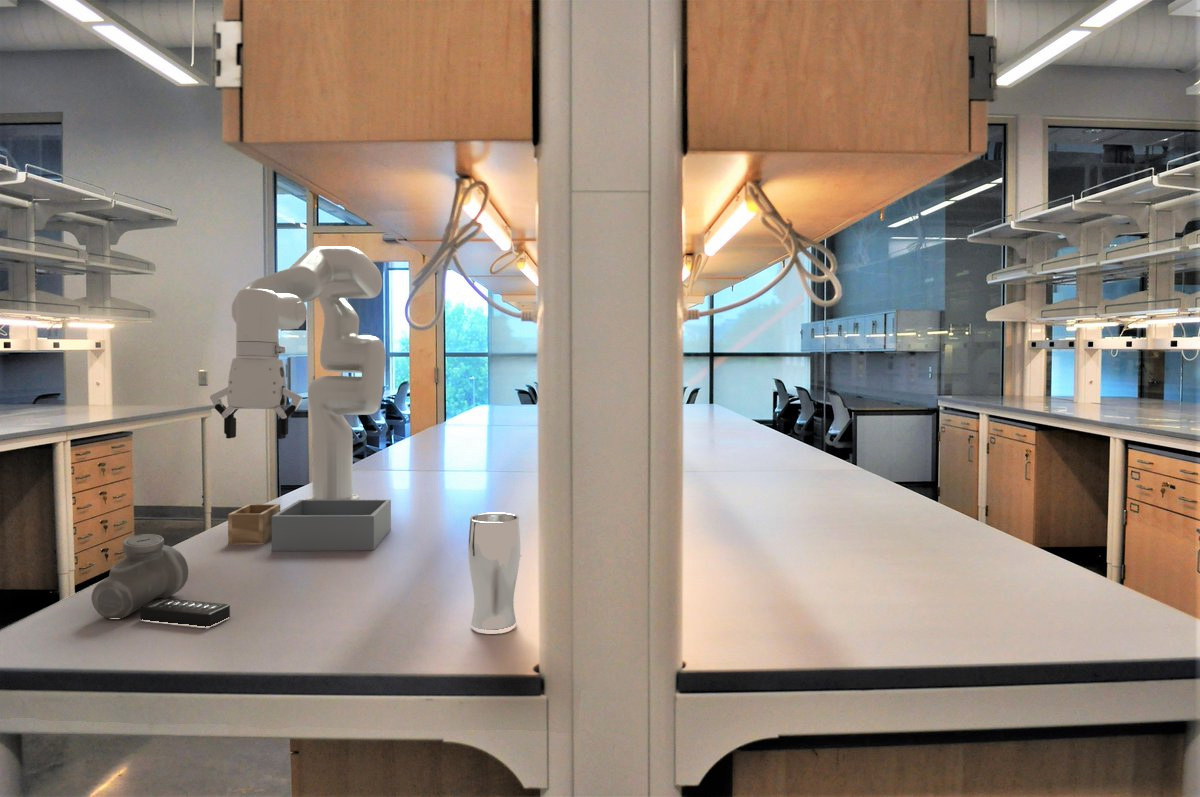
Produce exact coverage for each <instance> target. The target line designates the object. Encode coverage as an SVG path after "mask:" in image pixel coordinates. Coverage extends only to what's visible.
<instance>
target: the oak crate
mask: <svg viewBox="0 0 1200 797" xmlns="http://www.w3.org/2000/svg"><path fill="white" fill-rule="evenodd" d="M280 511H281V504H280V503H279V504H277V503H275V504H274V503H273V504H272V503H271V504H270V503H269V504H268V503H267V504H261V503H259V504H257V503H255V504H253V503H251V504H249V503H247V504H245V505H244V506H242V507H240V508H238V509H236V510H234V511H232V512H230V513H228V514H227V533H228V534H227V538H228V539H227V540H228V541H227V544H228V545H264V544H265V543H267V542H268V541H270V540H272V516H273V515H275V514H276V513H278V512H280Z"/></svg>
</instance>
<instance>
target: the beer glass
mask: <svg viewBox="0 0 1200 797" xmlns="http://www.w3.org/2000/svg"><path fill="white" fill-rule="evenodd" d="M520 530H521V529H520V516H518V515H517V514H514V513H506V512H484V513H477V514H474V515H471V516H470V518H469V530H468V544H467V546H468V548H467V550H468V552H467V553H468V554H467V555H468V557H467V558H468V565H469V572H470V573H469V574H470V580H471V583H472V584H471V585H472V589H473V590H472V591H473V602H474V603H473V612H472V618H471V622H470V626H471V625H472V626H473V627H475V628H478V629H484V630H485V629H486V630H499V629H504V628H508V627H511V626H513V625H514V624H515V623H516V624H517V619H516V614H515V605H514V603H515V602H514V601H515V600H514V598H515V590H516V585H517V584H516V583H517V579H518V573H519V566H520V560H521V531H520Z"/></svg>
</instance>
